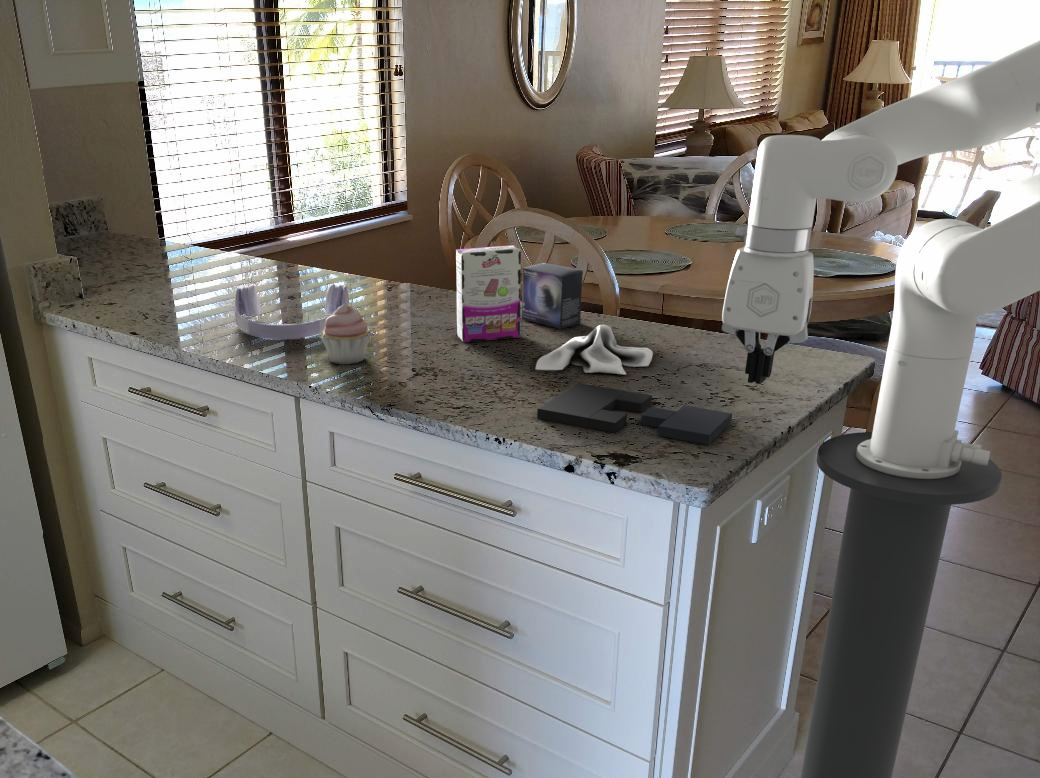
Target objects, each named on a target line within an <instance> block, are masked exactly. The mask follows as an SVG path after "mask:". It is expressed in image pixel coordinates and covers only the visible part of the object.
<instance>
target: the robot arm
mask: <svg viewBox="0 0 1040 778" xmlns="http://www.w3.org/2000/svg"><path fill="white" fill-rule="evenodd" d="M1039 123H1040V40H1037V41H1034V42H1033V43H1031V44H1029V45H1027V46H1025V47H1022V48H1020V49H1018V50H1016V51H1014V52H1012V53H1010V54H1008V55H1006V56H1003V57H1002V58H999V59H997V60H996V61H993V62H991V63H988V64H986V65H984V66H982V67H980V68H977V69H975V70H973V71H971V72H969V73H966V74H964V75H962V76H960V77H957V78H955V79H951V80H949V81H947V82H943V83H941V84H939V85H936V86H934V87H932V88H930V89H927V90H925V91H922V92H920V93H917V94H915V95H912V96H909V97H907V98H904V99H901V100H899V101H897V102H894V103H892V104H889V105H887V106H885V107H882V108H879V109H877V110H875V111H874V112H873V111H872V112H871V113H869V114H867V115H865V116H862V117H861V118H858V119H856V120H854V121H852V122H849V123H847V124H846V125H843V126H841V127H839V128H837V129H836V130H834V131H831V132H830V133H829V134H827V135H826V136H825V137H824V138H822V139H820V138H818V137H816V136H811V135H802V134H801V135H800V134H776V135H770V136H767V137H765V138H763V140H762V141H760V144H759V146H758V149H757V154H756V160H755V168H754V175H753V184H752V191H751V198H750V204H749V205H750V206H749V212H748V220H747V221H748V222H747V224H746V225H745V226H737V227H736V228H735V231H734V238H736V239H740V240H742V242H743V247H740V248H738V249H737V251H736V253H735V256H734V260H733V263H732V265H731V269H730V273H729V278H728V281H727V285H726V291H725V296H724V301H723V307H722V312H721V313H722V314H721V321H722V325H721V331H722V332H723V333H726V334H728V335H731V336H734V337H736V338H737V339H738V340H739V342H741V343H740V344H742V345H743V347H744V350H745V352H747V353H746V354H747V356H746V363H745V369H744V374H746V375H748V376H747V383H750V384H753V383H755V384H757V385H761V384H762V383H763V382H765V381H766V380H767V378H770V377H771V375H772V371H773V365H774V357H775V352H777V351H778V350H780V349H782V348H783V347H784V346H785V345H792V344H793V345H797V344H803V343H806V341H807V340H808V339H809V332H808V325H809V322H810V319H811V313H812V306H813V296H814V295H813V294H814V281H815V280H814V277H815V274H814V273H815V264H814V263H815V262H814V253H813V252H811V251H809V248H810V242H811V237H812V230H813V223H814V219H815V218H814V216H815V212H816V205H817V199H818V198H819V199H826V200H833V201H839V202H846V203H864V202H869V201H872V200H874V199H876V198H878V197H880V196H881V195H883V194H884V193H886V191H888V190H889V189H890V188H891V187H892V185H893V184H894V181H895V180H896V177H897V174H898V168H899V167H898V166H900V165H903V164H905V163H908V162H911V161H914V160H916V159H920V158H923V157H927V156H931V155H935V154H940V153H947V152H956V151H957V152H958V151H966V150H972V149H977V148H980V147H985V146H989V145H992V144H994V143H997V142H999V141H1001V140H1004V139H1006V138H1007V137H1009V136H1012V135H1014V134H1017V133H1019V132H1021V131H1022V130H1025V129H1027V128H1031V127H1032V126H1034V125H1036V124H1039ZM896 260H897V261H896V265H895V266H896V267H895V279H894V299H893V300H894V303H893V311H892V320H891V327H890V333H889V339H888V343H887V347H886V348H887V349H886V354H885V360H884V366H883V371H882V378H881V382H880V389H879V392H878V399H877V403H876V404H877V405H876V409H875V410H876V412H875V416H874V422H873V428H872V431H871V432H872V438H871V439H869V440H866V441H864V442H862V443H860V444H859V445H858V447H857V450H856V457H857V459H858V460H859V461H860V462H861V463H863V464H864V465H866V466H868V467H870V468H872V469H874V470H877V471H879V472H882V473H886V474H889V475H894V476H899V477H905V478H913V479H939V478H946V477H949V476H952V475H954V474H956V473H957V472H958V471H959V470H960V467H961V461H966V462H972V463H973V464H979V465H984V466H987V464H988V460H989V459H990V456H991V450H986V449H982V444H975V443H966V442H963V441H962V439H958V436H959V430H958V429H956V426H957V421H958V415H959V412H960V406H961V402H962V398H963V393H964V388H965V385H966V378H967V374H968V371H969V370H968V369H969V365H970V359H971V356H972V352H973V347H974V343H975V337H976V331H977V323H978V322H977V321H978V316H981V315H982V316H983V315H987V314H990V313H993V312H996V311H999V310H1000V309H1003V308H1006V307H1007V306H1010V305H1012V304H1014V303H1016V302H1018V301H1020V300H1023V299H1025V298H1027V297H1029V296H1031V295H1033V294H1036V293H1037V292H1039V291H1040V172H1038V173H1036V174H1034V175H1032V176H1030V177H1028V178H1026V179H1023V180H1021V181H1019V182H1018V183H1016V184H1014V185H1013V186H1011V187H1010V188H1009V189H1007V190H1006V191H1005V192H1003V194H1002V195H1001V196H1000V197H999V198H997V200H996V202H995V204H994V206H993V208H992V211H991V215H990V225H989V226H987V227H985V228H981V227H980V226H977V225H974V224H972V223H969V222H967V221H963V220H960V219H955V218H940V219H935V220H932V221H929V222H926V223H924V224H922V225H921V226H918V228H916V229H915V230H914V231H913V232H912V233H910V235H908V237H907V238H906V239H905V241H904V242H903V244H902V245H901V248H900V251H899V253H898V256H897V259H896ZM761 333H762V334H767V338H766V341H765V344H764V346H763V348H762V345H761Z"/></svg>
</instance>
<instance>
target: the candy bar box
mask: <svg viewBox="0 0 1040 778" xmlns="http://www.w3.org/2000/svg"><path fill="white" fill-rule="evenodd" d="M455 252H456V253H455V262H456V263H455V264H456V265H455V266H456V335H457V337H458V339H459V340H460V341H461V342H462V343H471V342H473V343H474V342H484V341H495V340H506V339H507V340H508V339H509V340H510V339H518V338H521V282H522V280H521V279H522V277H521V276H522V273H521V272H522V271H521V269H522V268H521V267H522V266H521V265H522V263H521V262H522V249H520V248H519V247H517V246H516V245H501V246H500V245H499V246H486V247H473V248H459V249H456V250H455Z"/></svg>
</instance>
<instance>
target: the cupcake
mask: <svg viewBox="0 0 1040 778" xmlns="http://www.w3.org/2000/svg"><path fill="white" fill-rule="evenodd" d="M367 324H368V323H367V322H366V321H365V319H364V318H363V317H362V315H361V313H360V312H359V310H358V309H356V308H354V307H353V306H352V305H347V304H344V305H342V306H340V307H339V308H338V309H337V310H336V311H335V313H334V315H332V316H330V317H328V318H327V319H326V322H325V330H323V332H322V333H319V334H318V336H319V338H320V339H321V341H322V342H323V346H324V348H325V352H326V354H327V357H328V360H329V362H331V363H333V364H337V365H353V364H357V363H361V362H363V361H364V360H365V359H366V356H367V355H366V354H367V349H368V345H369V342H370V340H371V338H372V336H373V334H374V331H371V329H370V328H368V325H367Z"/></svg>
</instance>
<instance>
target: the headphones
mask: <svg viewBox="0 0 1040 778" xmlns="http://www.w3.org/2000/svg"><path fill="white" fill-rule="evenodd" d="M235 291H236V292H235V302H234V306H233V310H234V319H235V324H236V326H237V325H238V326H239V327H240V328H239V327H238V326H237V328H238V329H239V330H240V331H241V332H242V333H244V334H247V335H249V336H253V337H256V338H260V339H268V340H294V339H302V338H309V337H312V336H316V335H319V333H322V332H323V330H325V322H326V319H327V318H328V317H330V316H332V315H334V313H335V311H336V310H337V309H338V308H339V307H340V306H342V305H344V304H347V305H349V304H350V296H349V291H348V287H347V285H344V286H343V285H341V284H338V285H336V284H334V283H331V284H329V286H328V289H327V291H326V296H325V301H324V311H325V312H324V314H325V316H324V317H321V318H318V319H315V320H310V321H307V322H306V321H305V322H301V323H291V324H290V323H288V324H287V323H286V324H283V323H282V324H273V323H271V324H269V323H261V322H257V321H253V320H251V319H253V318H254V317H249V316H258V317H257V318H260V317H261V303H260V299H259V295H258V291H257V287H256V284H254V283H251V284H249V285H248V286H246V285H244V286H242V287H237V289H236V290H235ZM243 314H244V316H242V317H241V315H243ZM259 315H260V316H259ZM326 315H329V316H326ZM246 316H248V317H249V318H248V317H246ZM245 317H246V318H245ZM241 328H242V329H241ZM243 329H244V330H243ZM246 330H247V331H246Z"/></svg>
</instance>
